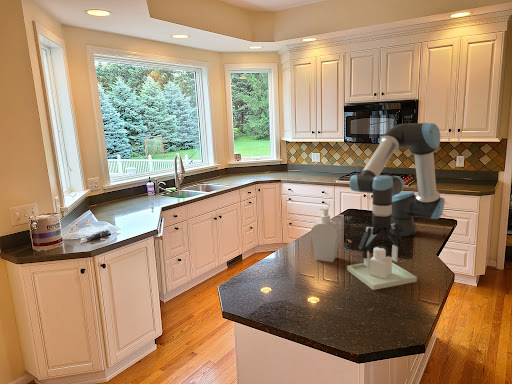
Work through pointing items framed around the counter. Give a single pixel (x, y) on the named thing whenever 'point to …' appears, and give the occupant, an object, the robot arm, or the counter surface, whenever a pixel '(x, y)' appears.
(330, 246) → the soap bottle
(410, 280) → the tray
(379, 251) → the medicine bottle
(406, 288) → the counter surface
